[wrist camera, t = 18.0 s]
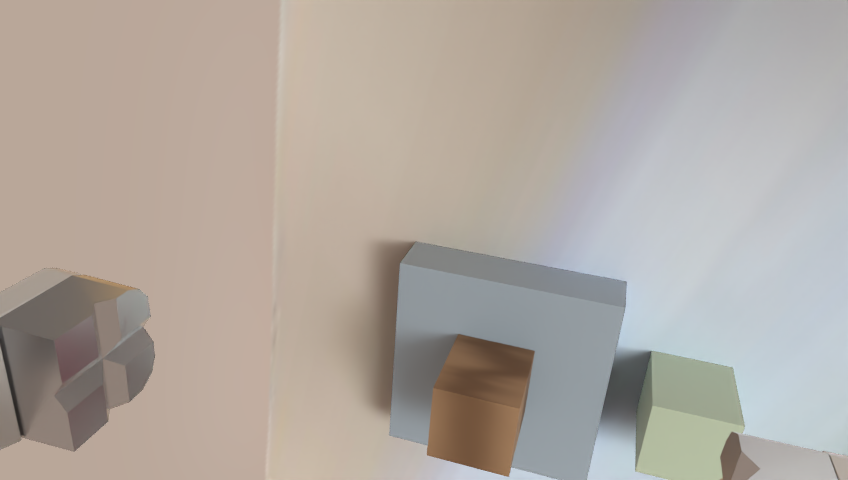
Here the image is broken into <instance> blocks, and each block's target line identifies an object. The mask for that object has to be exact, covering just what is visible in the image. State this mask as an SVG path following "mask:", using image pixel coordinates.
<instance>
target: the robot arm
mask: <svg viewBox="0 0 848 480" xmlns="http://www.w3.org/2000/svg"><path fill="white" fill-rule="evenodd" d="M150 317H151V315H150V308H149V303H148V296H146V295H145V294H144V293H143V292H142V291H141V290H139V289H137V288H133V287H129V286H125V285H122V284H117V283H114V282H110V281H106V280H103V279H98V278H95V277H91V276H87V275H81V274H79V273H75V272H71V271H67V270H63V269H58V268H44V269H42V270H40V271H38V272H36V273H35V274H33V275H31V276H29V277H27V278H25V279H23V280H22V281H20V282H18V283H16V284H15V285H12V286H11V287H9V288H7V289H5V290H3V291H1V292H0V450H1V449H3V448H5V447H7V446H10V445H12V444H14V443H17V442H19V441H21V437H22V438H26V439H30V440H33V441H37V442H41V443H44V444H48V445H52V446H55V447H59V448H63V449H66V450H70V451H76V450H77V449H78V448H79V447H80V446H81V445H82V444H83V443H85V442H86V441H87V440H88V439H89V438H90V437H91V436H92V435H93V434H94V433H96V432H97V431H98V430H99V429H100V428H101V427H102V426H104V424H106V423H107V422H108V418H109V410H110V409H111V408H114V407H117V406H120V405H123V404H125V403H128V402H130V401H131V400H132V399H133V398H134V397H135V396H136V395H137V394H139V393H140V392H141V391H142V390H143V388H144V386H145V384H146V382H147V381H148V379H149V377H150V375H151V373H152V370H153V363H154V358H155V353H154V342H153V340H152V339H151V337H150V336H149V335H148V333H147V332H146V330H145V329H144V327H143V326H144V325H145V323H146V322H147V321H148V319H149V318H150ZM720 460H721V468H722V475H723V478H722V479H720V480H848V456H845V455H841V454H836V453H831V452H826V451H822V452H821V451H816V450H812V449H808V448H803V447H799V446H795V445H790V444H786V443H781V442H777V441H773V440H768V439H764V438H759V437H755V436H751V435H746V434H742V433H737V432H733V431H732V432H731V433H730V435H729V437H728V438H727V440H726V442H725V445H724V447H723V450H722V453H721V456H720Z"/></svg>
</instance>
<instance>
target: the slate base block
mask: <svg viewBox="0 0 848 480" xmlns="http://www.w3.org/2000/svg"><path fill="white" fill-rule="evenodd" d="M626 285H627V282H626V281H620V280H615V279H610V278H605V277H599V276H594V275H589V274H583V273H578V272H573V271H568V270H562V269H557V268H552V267H547V266H541V265H536V264H531V263H526V262H520V261H515V260H510V259H504V258H499V257H494V256H489V255H483V254H478V253H473V252H468V251H462V250H457V249H452V248H447V247H441V246H436V245H431V244H426V243H420V242H415V244H414V245H413V246H412V248H411V249H410V250H409V252H408V253H407V254H406V256H405V257H404V258H403V260H402V261H401V262H400V270H399V286H398V302H397V319H396V335H395V351H394V367H393V384H392V400H391V416H390V432H389V436H393V437H397V438H401V439H405V440H409V441H413V442H416V443H420V444H424V445H428V437H429V427H430V416H431V405H432V395H433V387H434V385H435V383H436V381H437V379H438V376H439V374H440V372H441V370H442V368H443V366H444V363H445V361H446V359H447V357H448V355H449V353H450V351H451V348H452V346H453V344H454V342H455V340H456V338H457V336H458V334H461V335H465V336H470V337H475V338H479V339H484V340H488V341H493V342H497V343H502V344H506V345H511V346H515V347H520V348H524V349H529V350H533V351H535V354H534V359H533V365H532V371H531V377H530V383H529V389H528V395H527V401H526V407H525V413H524V417H523V421H522V425H521V429H520V433H519V437H518V441H517V445H516V449H515V453H514V457H513V461H512V465H511V467H513V468H517V469H520V470H524V471H528V472H532V473H536V474H540V475H544V476H547V477H551V478H555V479H559V480H587V476H588V471H589V467H590V463H591V458H592V454H593V449H594V445H595V440H596V436H597V432H598V427H599V423H600V418H601V414H602V409H603V405H604V401H605V396H606V392H607V387H608V383H609V378H610V374H611V370H612V365H613V361H614V356H615V352H616V347H617V343H618V339H619V334H620V330H621V325H622V321H623V316H624V312H625V307H626Z"/></svg>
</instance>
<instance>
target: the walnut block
mask: <svg viewBox="0 0 848 480" xmlns="http://www.w3.org/2000/svg"><path fill="white" fill-rule="evenodd" d="M534 354H535V351H533V350H529V349H524V348H520V347H515V346H511V345H506V344H502V343H497V342H493V341H488V340H484V339H479V338H475V337H470V336H465V335H461V334H458V336H457V338H456V340H455V342H454V344H453V346H452V348H451V351H450V353H449V355H448V357H447V359H446V361H445V363H444V366H443V368H442V370H441V372H440V374H439V376H438V379H437V381H436V383H435V385H434V387H433V395H432V405H431V416H430V427H429V437H428V448H427V455H428V456H432V457H436V458H440V459H444V460H447V461H451V462H455V463H459V464H462V465H466V466H470V467H474V468H477V469H481V470H485V471H489V472H493V473H496V474H500V475H504V476H508V477H509V473H510V469H511V465H512V461H513V457H514V453H515V449H516V445H517V441H518V437H519V433H520V429H521V425H522V421H523V417H524V413H525V407H526V401H527V395H528V389H529V383H530V377H531V371H532V365H533V359H534Z"/></svg>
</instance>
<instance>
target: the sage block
mask: <svg viewBox="0 0 848 480" xmlns="http://www.w3.org/2000/svg"><path fill="white" fill-rule="evenodd" d="M744 427H745V425H744V420H743V415H742V410H741V405H740V401H739V396H738V391H737V386H736V381H735V376H734V371H733V368H732V367H727V366H723V365H718V364H713V363H708V362H704V361H699V360H694V359H689V358H684V357H680V356H675V355H670V354H665V353H661V352H656V351H651V355H650V359H649V363H648V367H647V371H646V375H645V379H644V383H643V387H642V391H641V395H640V399H639V403H638V407H637V411H636V463H635V471H636V472H640V473H644V474H648V475H652V476H656V477H660V478H664V479H668V480H720V479H722V478H723V475H722V468H721V460H720V456H721V453H722V450H723V447H724V445H725V442H726V440H727V438H728V437H729V435H730V433H731V432H732V431H733V432H737V433H743V430H744Z"/></svg>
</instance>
